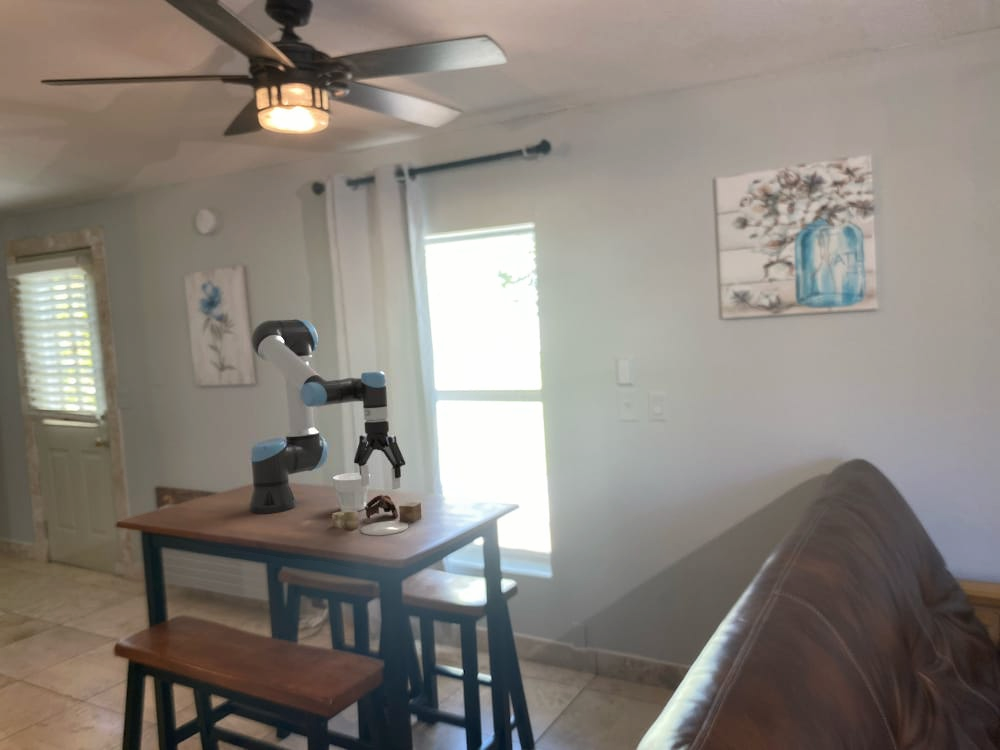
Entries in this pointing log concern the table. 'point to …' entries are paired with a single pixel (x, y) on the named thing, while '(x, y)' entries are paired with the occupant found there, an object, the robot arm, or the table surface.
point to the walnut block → (410, 512)
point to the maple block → (339, 519)
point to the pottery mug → (383, 503)
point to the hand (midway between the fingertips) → (380, 486)
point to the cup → (351, 491)
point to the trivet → (384, 528)
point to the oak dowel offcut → (351, 520)
